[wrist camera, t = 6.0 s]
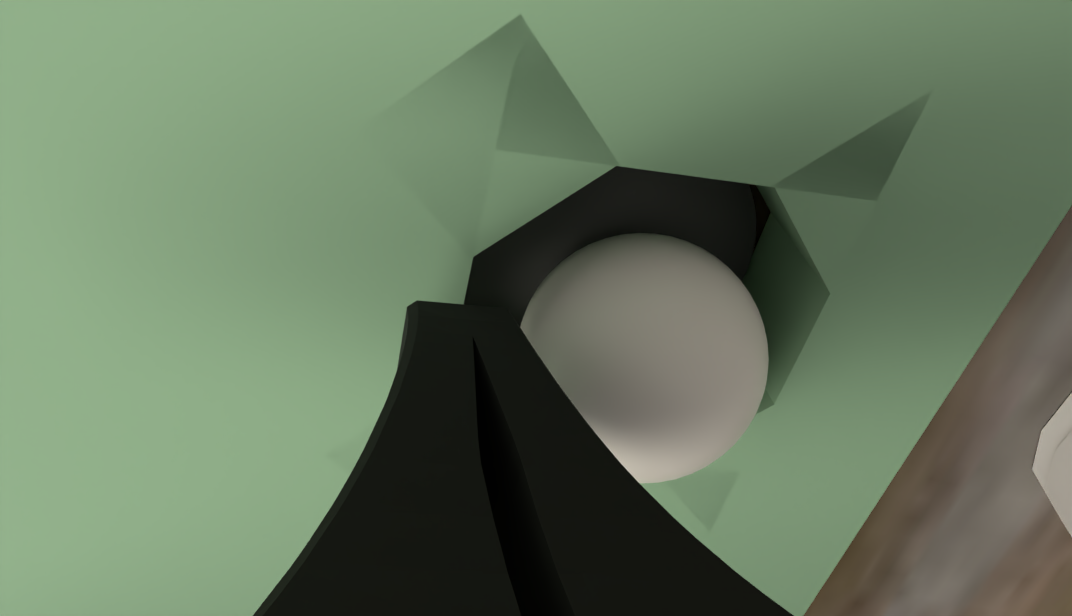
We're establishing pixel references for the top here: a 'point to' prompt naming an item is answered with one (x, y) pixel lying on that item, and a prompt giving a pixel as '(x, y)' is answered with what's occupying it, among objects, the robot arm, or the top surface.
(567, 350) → the ball
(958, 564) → the top surface
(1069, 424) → the foam cup
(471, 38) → the putting mat
